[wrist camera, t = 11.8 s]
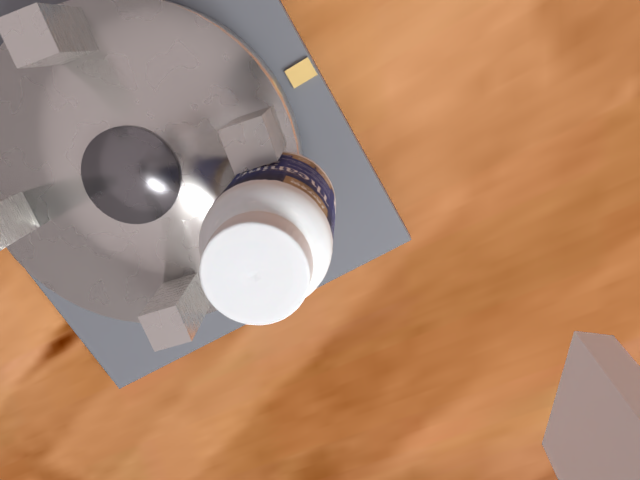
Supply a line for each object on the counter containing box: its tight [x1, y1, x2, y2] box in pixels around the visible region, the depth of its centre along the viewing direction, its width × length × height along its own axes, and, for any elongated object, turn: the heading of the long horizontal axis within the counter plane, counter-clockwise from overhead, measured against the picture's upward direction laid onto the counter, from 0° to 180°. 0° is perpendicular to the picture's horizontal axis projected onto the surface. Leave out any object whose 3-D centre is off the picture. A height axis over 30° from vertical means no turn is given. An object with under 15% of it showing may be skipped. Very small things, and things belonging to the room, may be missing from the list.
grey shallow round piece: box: [0, 0, 303, 352], centre depth 28 cm, size 17×17×6 cm
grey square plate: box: [0, 0, 411, 389], centre depth 32 cm, size 21×22×1 cm
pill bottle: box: [199, 152, 336, 325], centre depth 25 cm, size 5×5×10 cm
